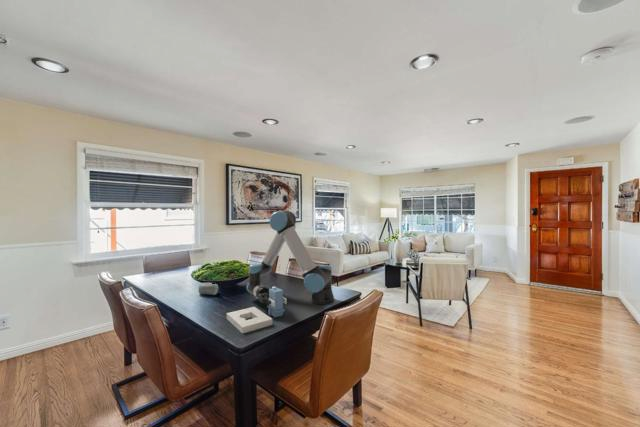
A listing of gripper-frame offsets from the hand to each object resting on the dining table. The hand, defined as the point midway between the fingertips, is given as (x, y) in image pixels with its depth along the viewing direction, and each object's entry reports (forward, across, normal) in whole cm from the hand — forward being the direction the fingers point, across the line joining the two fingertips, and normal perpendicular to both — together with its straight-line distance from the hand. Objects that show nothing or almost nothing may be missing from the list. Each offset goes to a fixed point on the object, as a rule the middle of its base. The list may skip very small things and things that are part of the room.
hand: (280, 302), depth 148 cm
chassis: (-5, +16, -8) cm, 19 cm away
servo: (-5, 0, -8) cm, 9 cm away
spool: (-65, +20, -8) cm, 69 cm away
